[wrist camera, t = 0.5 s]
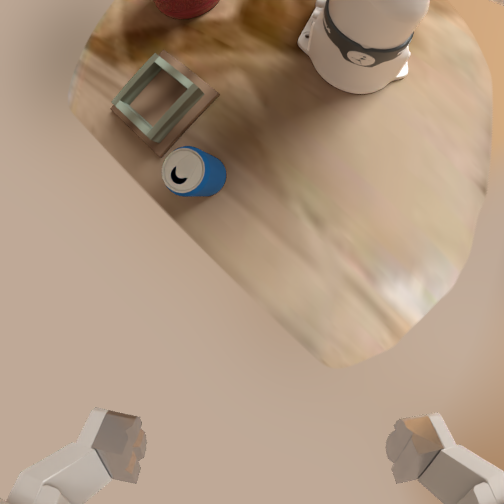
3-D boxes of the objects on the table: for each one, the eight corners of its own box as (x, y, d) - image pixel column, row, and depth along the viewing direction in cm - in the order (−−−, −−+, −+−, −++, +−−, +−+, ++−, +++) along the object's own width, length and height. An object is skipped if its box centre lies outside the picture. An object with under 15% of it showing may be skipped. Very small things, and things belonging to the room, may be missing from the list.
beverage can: (180, 177, 50) (148, 173, 39) (206, 147, 49) (182, 134, 37) (207, 204, 50) (183, 207, 39) (235, 174, 49) (218, 167, 37)
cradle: (113, 110, 50) (100, 104, 45) (165, 51, 47) (156, 41, 42) (161, 157, 50) (150, 154, 46) (219, 94, 47) (213, 85, 43)
